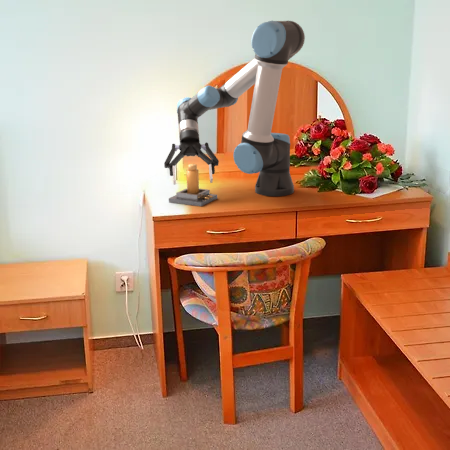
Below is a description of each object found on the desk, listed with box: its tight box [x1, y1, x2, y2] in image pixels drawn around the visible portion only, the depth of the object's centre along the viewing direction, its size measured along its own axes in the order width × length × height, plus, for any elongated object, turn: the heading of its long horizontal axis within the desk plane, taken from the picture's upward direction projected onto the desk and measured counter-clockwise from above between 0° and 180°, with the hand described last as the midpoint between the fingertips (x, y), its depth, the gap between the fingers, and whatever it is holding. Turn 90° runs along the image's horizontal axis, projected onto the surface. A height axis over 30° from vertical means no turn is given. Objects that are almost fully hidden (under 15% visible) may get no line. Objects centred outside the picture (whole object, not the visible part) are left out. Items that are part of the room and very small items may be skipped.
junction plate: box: [168, 188, 218, 207], centre depth 248 cm, size 14×12×4 cm
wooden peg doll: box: [186, 163, 200, 194], centre depth 246 cm, size 4×4×12 cm
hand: (193, 181), depth 244 cm, fingers open, 13 cm apart
